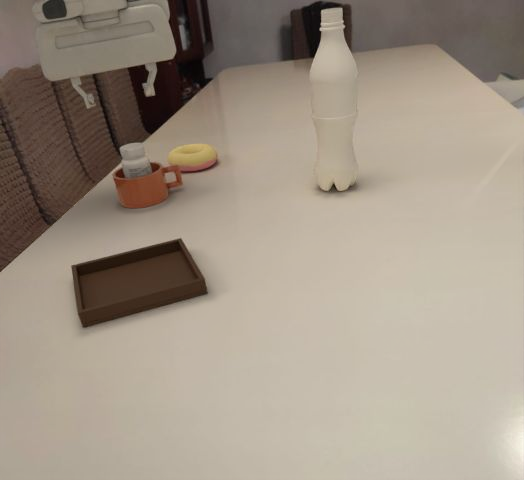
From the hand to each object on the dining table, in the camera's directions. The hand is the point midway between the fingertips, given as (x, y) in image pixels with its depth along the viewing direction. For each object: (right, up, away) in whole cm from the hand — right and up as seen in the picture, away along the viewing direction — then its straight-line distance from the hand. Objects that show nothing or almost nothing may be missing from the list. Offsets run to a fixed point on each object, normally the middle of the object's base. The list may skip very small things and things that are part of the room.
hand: (121, 101), depth 84 cm
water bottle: (+35, -12, +4) cm, 37 cm away
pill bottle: (+2, -12, +9) cm, 16 cm away
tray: (+6, -31, -16) cm, 35 cm away
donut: (+9, -3, +21) cm, 23 cm away
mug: (+3, -12, +10) cm, 16 cm away
